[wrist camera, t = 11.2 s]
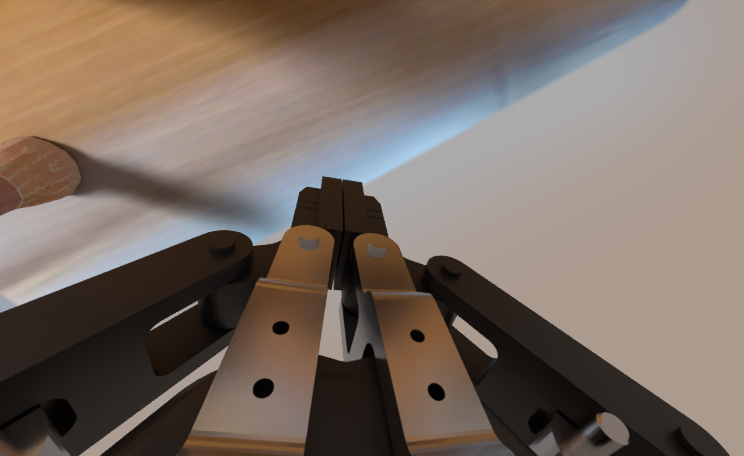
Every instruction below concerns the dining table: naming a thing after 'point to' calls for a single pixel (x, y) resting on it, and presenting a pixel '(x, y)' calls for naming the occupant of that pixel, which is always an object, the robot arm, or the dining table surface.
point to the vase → (34, 173)
